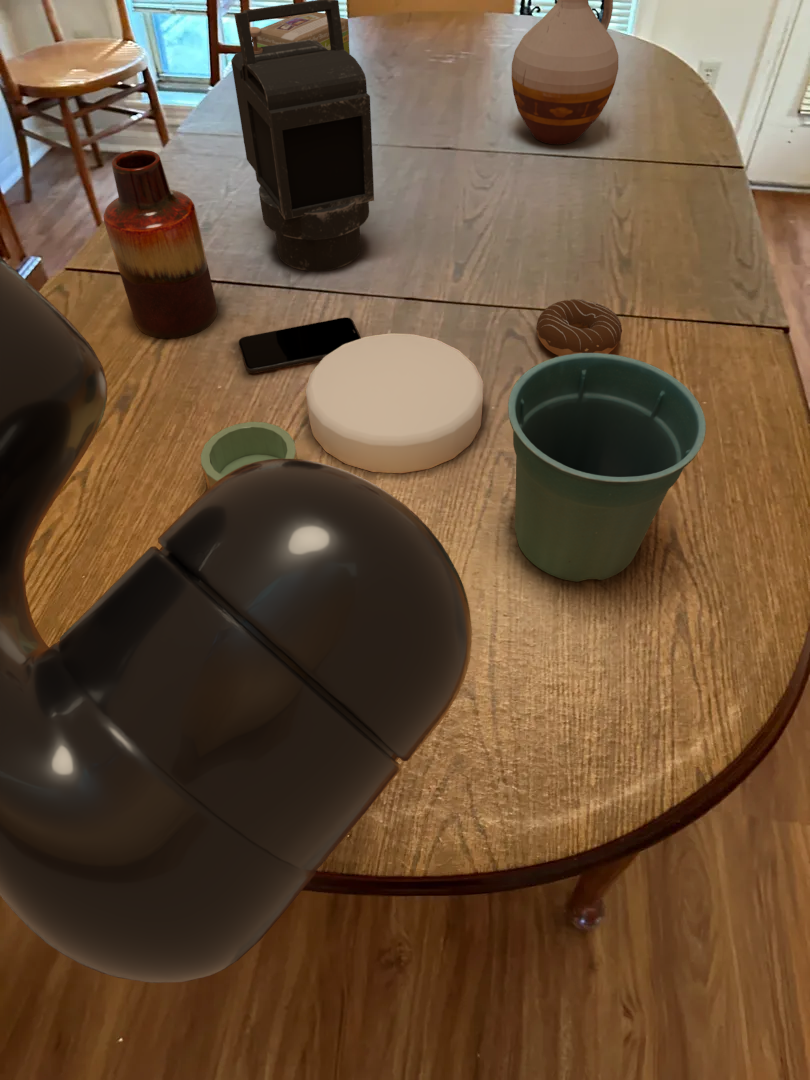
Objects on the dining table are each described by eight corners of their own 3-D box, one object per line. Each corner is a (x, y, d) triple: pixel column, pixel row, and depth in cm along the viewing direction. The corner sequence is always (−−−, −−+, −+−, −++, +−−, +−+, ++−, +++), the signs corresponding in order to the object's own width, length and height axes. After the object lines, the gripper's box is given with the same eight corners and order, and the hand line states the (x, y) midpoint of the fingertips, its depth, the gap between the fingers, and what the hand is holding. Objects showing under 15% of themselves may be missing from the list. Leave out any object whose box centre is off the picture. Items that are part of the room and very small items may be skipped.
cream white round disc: (287, 384, 94) (283, 352, 91) (440, 346, 99) (441, 314, 96) (341, 494, 82) (338, 461, 79) (512, 445, 87) (516, 412, 83)
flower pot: (692, 580, 74) (746, 454, 62) (531, 621, 71) (555, 498, 59) (613, 465, 85) (647, 339, 72) (470, 497, 82) (480, 371, 70)
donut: (547, 371, 96) (551, 344, 93) (525, 322, 103) (528, 295, 100) (631, 362, 97) (638, 334, 94) (603, 314, 104) (609, 287, 101)
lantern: (287, 285, 109) (253, 40, 86) (250, 228, 120) (211, -3, 97) (386, 262, 113) (379, 21, 90) (342, 208, 124) (325, -19, 101)
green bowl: (250, 531, 79) (243, 500, 76) (190, 486, 83) (181, 455, 80) (319, 480, 84) (314, 449, 80) (259, 441, 88) (252, 409, 84)
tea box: (306, 132, 143) (296, 39, 132) (263, 120, 147) (251, 29, 136) (353, 104, 151) (349, 16, 140) (312, 94, 155) (304, 7, 144)
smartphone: (248, 376, 95) (366, 352, 98) (246, 370, 95) (366, 346, 98) (237, 342, 100) (351, 320, 103) (236, 336, 99) (350, 315, 102)
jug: (556, 105, 150) (581, -93, 128) (632, 133, 141) (673, -75, 119) (485, 134, 142) (498, -73, 119) (561, 166, 133) (592, -51, 110)
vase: (177, 285, 109) (139, 132, 94) (234, 309, 105) (203, 153, 90) (118, 321, 104) (66, 164, 88) (175, 349, 99) (131, 189, 84)
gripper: (270, 450, 33) (240, 487, 49) (0, 699, 30) (61, 653, 46) (390, 577, 34) (324, 573, 50) (143, 828, 31) (155, 740, 47)
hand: (198, 611), depth 48 cm, fingers open, 8 cm apart
